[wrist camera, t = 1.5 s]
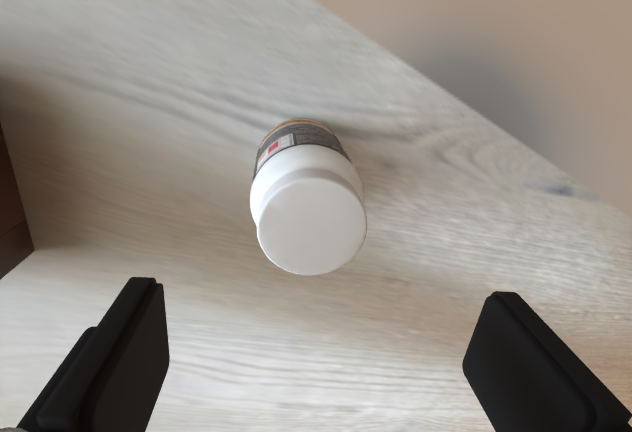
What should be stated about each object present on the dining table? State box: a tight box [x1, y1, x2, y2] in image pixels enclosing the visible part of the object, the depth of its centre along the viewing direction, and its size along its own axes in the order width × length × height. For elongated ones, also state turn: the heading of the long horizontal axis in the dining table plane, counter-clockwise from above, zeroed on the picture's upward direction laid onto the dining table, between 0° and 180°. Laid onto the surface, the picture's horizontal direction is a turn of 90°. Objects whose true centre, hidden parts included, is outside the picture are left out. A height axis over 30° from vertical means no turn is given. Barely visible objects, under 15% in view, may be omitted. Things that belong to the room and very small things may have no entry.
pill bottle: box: [250, 119, 367, 276], centre depth 19 cm, size 6×6×10 cm
